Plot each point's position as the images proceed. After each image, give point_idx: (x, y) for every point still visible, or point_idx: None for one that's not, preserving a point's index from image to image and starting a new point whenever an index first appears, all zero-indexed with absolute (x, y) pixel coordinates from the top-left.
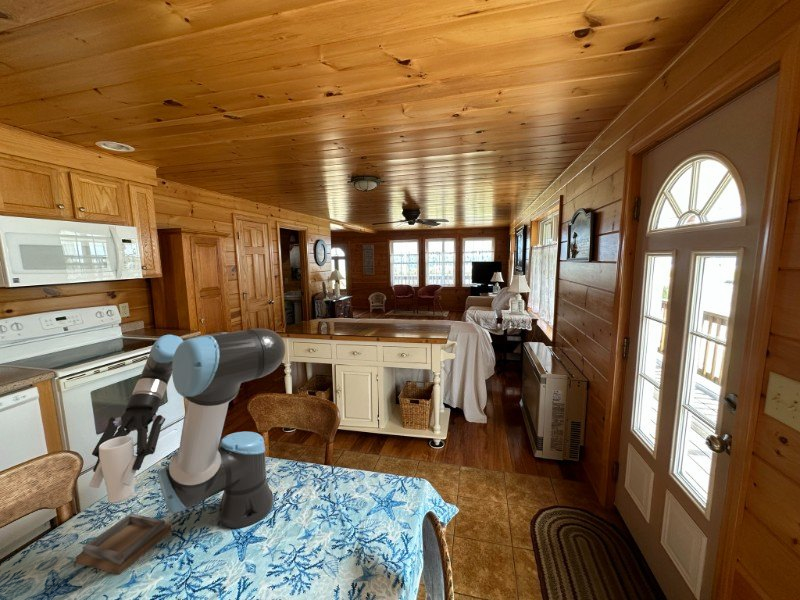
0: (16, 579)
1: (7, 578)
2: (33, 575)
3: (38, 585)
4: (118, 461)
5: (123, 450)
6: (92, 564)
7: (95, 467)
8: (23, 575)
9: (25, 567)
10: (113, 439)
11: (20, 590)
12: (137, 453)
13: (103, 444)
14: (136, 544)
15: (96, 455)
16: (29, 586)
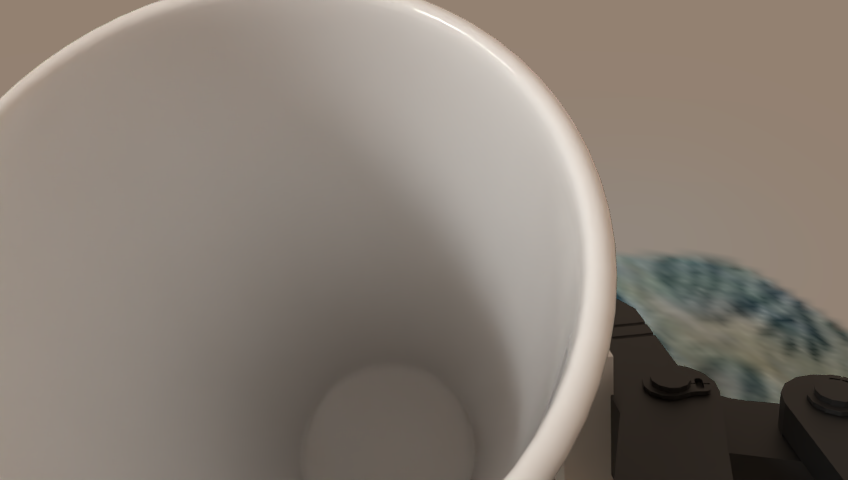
0: (775, 313)
1: (824, 318)
2: (721, 332)
3: (639, 287)
4: (194, 205)
5: (53, 181)
6: None
7: (623, 321)
8: (769, 332)
9: (817, 373)
10: (517, 474)
11: (688, 266)
12: None
13: (576, 228)
14: None
15: (771, 407)
16: (672, 283)
